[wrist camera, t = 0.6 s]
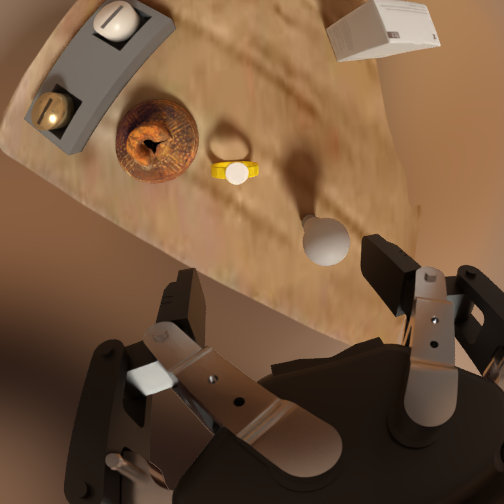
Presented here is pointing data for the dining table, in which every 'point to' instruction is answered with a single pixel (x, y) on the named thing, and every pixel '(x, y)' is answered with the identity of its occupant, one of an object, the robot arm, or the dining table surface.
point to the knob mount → (99, 73)
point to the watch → (234, 171)
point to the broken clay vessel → (157, 129)
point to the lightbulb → (324, 240)
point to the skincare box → (382, 30)
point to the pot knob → (117, 21)
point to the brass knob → (52, 111)
